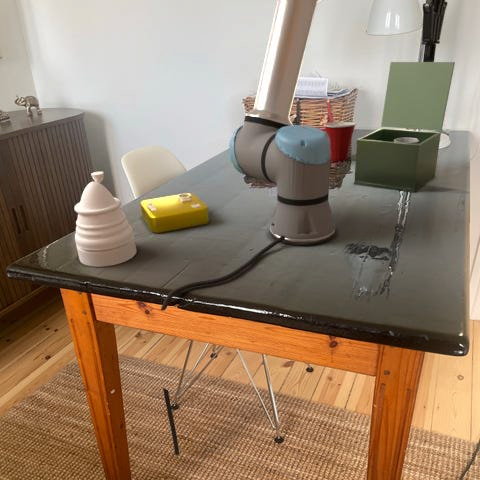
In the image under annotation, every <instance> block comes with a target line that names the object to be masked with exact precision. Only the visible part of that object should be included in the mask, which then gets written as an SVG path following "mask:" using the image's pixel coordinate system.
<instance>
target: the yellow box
mask: <svg viewBox="0 0 480 480" xmlns="http://www.w3.org/2000/svg"><path fill="white" fill-rule="evenodd" d="M140 209H141V210H140V211H141V216H142V217H141V218H142V219H143V220H144V222H145V224H146V225H147V226H148V227H149V229H150V231H151V232H152V233H155V234H162V233H168V232H172V231H173V232H174V231H178V230H183V229H188V228H193V227H200V226H205V225H207V224H208V223H209V221H210V219H209V207H208V205H207V204H206V203H205V202H204V201H202V200H201V199H200V197H199V196H197V195H196V194H195V193H193V192H184V193H179V194H173V195H167V196H162V197H156V198H155V197H154V198H150V199H143V200H142V201H140Z"/></svg>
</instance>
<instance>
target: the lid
mask: <svg viewBox="0 0 480 480" xmlns="http://www.w3.org/2000/svg"><path fill="white" fill-rule="evenodd" d="M455 65H456V62H455V61H434V62H423V61H390V64H389V70H388V78H387V84H386V90H385V98H384V105H383V111H382V118H381V124H380V127H381V128H385V127H386V128H393V129H407V130H420V131H434V132H442V131H443V127H444V121H445V117H446V116H445V115H446V112H447V111H446V110H447V105H448V101H449V95H450V89H451V85H452V79H453V75H454V70H455Z"/></svg>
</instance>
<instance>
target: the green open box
mask: <svg viewBox="0 0 480 480" xmlns="http://www.w3.org/2000/svg"><path fill="white" fill-rule="evenodd" d="M441 134H442V132H440V131H427V130H414V129H401V128H388V127H386V128H385V127H381V128H379V129H377V130H374V131H372V132H370V133H368V134H366V135H364V136H361V137H359V138H357V139H356V147H355V148H356V150H355V165H354V166H355V167H354V182H353V183H354V185H359V186H365V187H373V188H379V189H387V190H394V191H401V192H408V193H415V192H417V191H418V190H420V189H422V187H423V186H425V185H426V184H427V183H429V182H430V181H432V180H433V179H434V178H435V177H436V172H437V171H436V170H437V163H438V156H439V150H440V143H441V136H442V135H441ZM397 138H416V139H418V140H419V144H410V143H399V142H394V139H397Z"/></svg>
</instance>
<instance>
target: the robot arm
mask: <svg viewBox="0 0 480 480" xmlns="http://www.w3.org/2000/svg"><path fill="white" fill-rule="evenodd" d="M322 1H323V0H277V1H276V6H275V10H274V15H273V20H272V24H271V29H270V33H269V38H268V42H267V47H266V51H265V56H264V60H263V64H262V68H261V74H260V78H259V82H258V87H257V92H256V96H255V100H254V105H253V107H252V109H251V110H250V111H248V112H247V113H245V116H244V119H243V124H242V125H240V126H238V127H237V128H236V130H234V131H233V132H232V133H231V136H230V138H229V142H228V156H229V159H230V162H231V163H232V165H233V168H234V169H235V170H236V171H237V172H238V173H240V174H241V175H243V176H247V177H248V178H250V179H254V180H260V181H264V182H267V183H271V184H274V185H276V194H277V195H276V198H277V199H276V205H275V208H274V212H273V215H272V219H271V222H270V227H269V233H270V234H269V235H270V237H271V238H272V239H273V240H274V241H271V242H270V243H269V244H268V245H266V246H265V247H263V248H262V249H261V250H260V251H258V252H257V253H256V254H255V255H253V256H252V257H251V258H250V259H249V260H248V261H246V262H245V263H243V264H242V265H240V266H239V267H238V268H236V269H235V270H233V271H232V272H230V273H228V274H226V275H223V276H220V277H217V278H213V279H206V280H199V281H193V282H190V283H187V284H185V285H182V286H179V287H177V288H174V289H173V290H171V291H170V292H168V293H167V295H166V296H165V299H164V301H163V303H162V305H161V307H160V311H162V312H163V311H166V310H167V308H168V305H169V303H170V301H172V298H174V296H176V295H178V294H179V293H182V292H184V291H186V290H189V289H193V288H196V287H201V286H208V285H209V286H210V285H215V284H219V283H223V282H225V281H227V280H230V279H232V278H233V277H235V276H237V275H239V274H240V273H241V272H243V271H244V270H246V269H247V268H249V267H250V266H251V265H253V264H254V263H255V262H256V261H257V260H258V259H259V258H260V257H262V256H263V255H265V254H266V253H267V252H268V251H270V250H271V249H273V248H274V247H275V246H277V245H278V244H279V243H281V244H285V245H291V246H312V245H318V244H321V243H326V242H328V241H330V240H332V239H333V238H334V237H335V236H336V222H335V220H334V216H333V212H332V209H331V206H330V202H329V196H330V195H329V194H330V193H329V192H330V176H331V175H330V173H331V160H330V157H331V151H330V139H329V136H328V135H327V134H326V131H325V130H322V129H321V128H318V127H315V126H311V125H299V124H293V122H292V121H291V118H290V115H291V111H292V108H293V103H294V99H295V95H296V91H297V86H298V83H299V79H300V76H301V75H300V74H301V70H302V66H303V62H304V58H305V54H306V50H307V45H308V42H309V37H310V35H311V30H312V25H313V21H314V18H315V14H316V9H317V5H318V3H321V2H322ZM447 7H448V1H446V0H425V2H424V3H423V4H422V35H421V36H422V37H421V45H422V46H424V48H423V59H422V62H435V56H436V48H437V45H439V44H440V43H441V41H440V40H441V35H442V29H443V24H444V19H445V14H446V10H447ZM162 390H163V396H164V401H165V407H166V412H167V417H168V421H169V427H170V430H171V435H172V436H171V437H172V443H173V449H174V455H175V456H179V455H180V448H179V442H178V434H177V429H176V425H175V420H174V415H173V410H172V404H171V398H170V393H169V390H168V389H167V388H165V387H162Z"/></svg>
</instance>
